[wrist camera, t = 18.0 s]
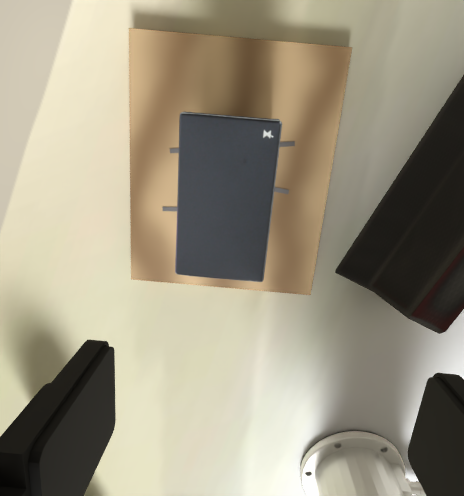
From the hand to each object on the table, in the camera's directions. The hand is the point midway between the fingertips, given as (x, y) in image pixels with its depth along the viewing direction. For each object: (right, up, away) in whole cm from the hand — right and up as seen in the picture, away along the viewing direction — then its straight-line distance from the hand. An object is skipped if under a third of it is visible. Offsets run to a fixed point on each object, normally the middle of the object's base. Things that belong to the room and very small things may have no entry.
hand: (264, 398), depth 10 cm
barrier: (+19, +10, +23) cm, 31 cm away
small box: (-1, +11, +21) cm, 24 cm away
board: (-1, +11, +23) cm, 25 cm away
